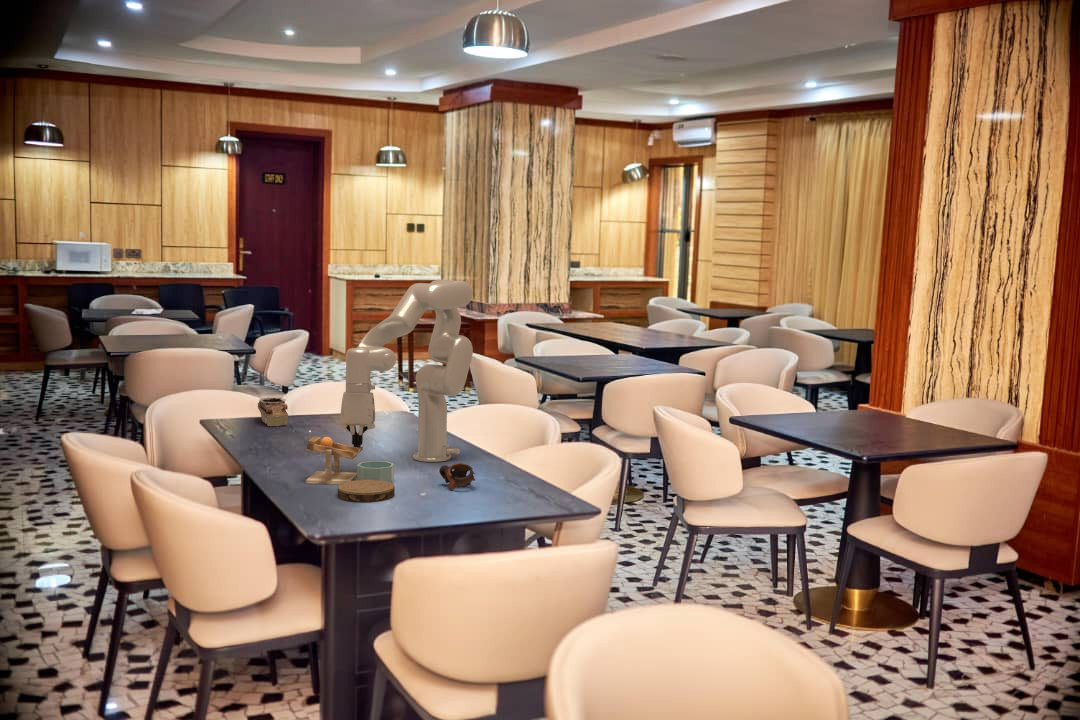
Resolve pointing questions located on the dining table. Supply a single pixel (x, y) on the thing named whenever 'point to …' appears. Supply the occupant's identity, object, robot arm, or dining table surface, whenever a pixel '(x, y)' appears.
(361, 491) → the wood log slice
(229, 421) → the dining table surface
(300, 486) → the dining table surface
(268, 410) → the decorative box
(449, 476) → the pottery mug
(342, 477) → the frame
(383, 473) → the green octagonal bowl
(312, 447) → the lever
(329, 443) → the ball
